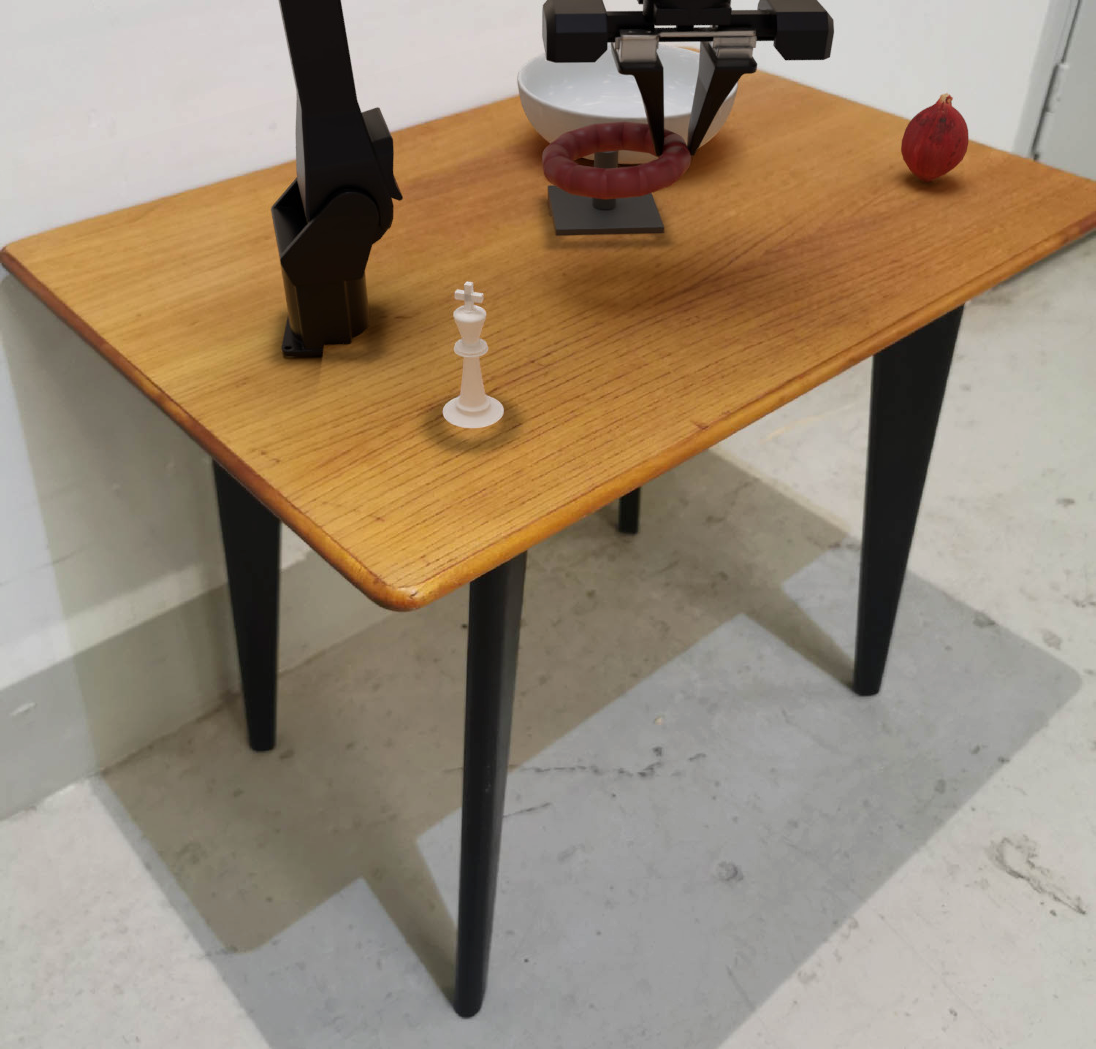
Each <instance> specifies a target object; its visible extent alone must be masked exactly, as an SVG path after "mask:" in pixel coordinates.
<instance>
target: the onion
mask: <svg viewBox="0 0 1096 1049" xmlns="http://www.w3.org/2000/svg"><path fill="white" fill-rule="evenodd" d="M953 99H954V97H953V96H952V95H951V94H949V93H948V92H946V93H943V94H940V96H939V98H938V100H937V101H936V102H935V103H933V104H932V105H930V106H928V107H925V108H924V109H922V110H921V111H919V112H918V113H916V115H914V116H913V118H912V119H910V121H909V122H908V124H907V125H906V128H905V129H904V133H903V135H902V139H901V145H900V152H901V156H902V160H903V161H904V163H905V164H906V166H907V168H908V170H909V171H910V172H911V173H912V174H913V175H914V176H915V177H917V178H918V180H919V181H921V182H923V183H932V182H934V180H936V179H938V178H940V177H943V176H945V175H946V174H948V173H949V172H951V171H952V170H954V169H955V168H957V167H958V165H959V164H960V163H961V162H963V160H964V158H965V156H966V154H967V151H968V148H969V139H970V138H969V128H968V124H967V122H966V120H965V118H964V116H963V115H962V114H961V112H960V111H959V110H958V109H956V108H955V107H954V106H953V103H952V101H953Z"/></svg>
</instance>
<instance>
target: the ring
mask: <svg viewBox="0 0 1096 1049" xmlns="http://www.w3.org/2000/svg"><path fill="white" fill-rule="evenodd" d="M620 150H627V151H635V152H643V153H650V154H652V155H654V156H656V154H655V151H654V147H653V142H652V138H651V134H650V130H649V126H648V124H644V123H635V122H613V123H601V124H592V125H588V126H585V127H582V128H579V129H575V130H572V131H569V132H566V133H564V134H562V135H560V136H559V137H558V138H557V139H556V140H554V141H553V142H552V143H549V144H548V145H547V146H546V147H545V148H544V150H543V152H542V155H541V162H542V168H543V175H544V178H545V179H546V180H547V182H548V183H550V184H551V185H555V186H557V187H558V188H560V189H562V190H564V191H566V192H567V193H569V194H572V195H577V196H584V197H591V198H598V199H617V198H629V197H640V196H644V195H647V194H650V193H652V194H653V193H655V192H658V191H661V190H663V189H666V188H670V187H672V186H673V185H674V184H676V182H677V181H678V180H680V178H681V177H682V176H683V175H684V174H685V173H686V172H687V171H688V170H689V168H690V166H691V163H692V156H691V155H690V152H689V150H688V148H687V145H686V143H685V140H684V139H683V138H682V137H681V136H680V135H678V134H676V133H674V132H672V131H669V130H667V129H665V128H664V146H663V152H662V155H661V156H660V157H658V159H656V160H653V161H650V162H647V163H644V164H637V165H633V166H622V167H621V166H620V167H618V168H609V169H604V168H597V167H594V166H589V165H581V164H579V163H577V162H575V161H576V160H578V159H581V158H582V157H585V156H588V155H591V154H594V153H597V152H608V151H620ZM656 157H657V156H656Z"/></svg>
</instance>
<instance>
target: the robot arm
mask: <svg viewBox="0 0 1096 1049" xmlns="http://www.w3.org/2000/svg"><path fill="white" fill-rule="evenodd" d="M636 1H637V4H638V5H642V10H607V9H606V6H605V3H604V0H545V2H543V4H542V10H541V13H542V14H541V37H542V44H543V50H544V53H545V55H546V60H547V61H551V62H554V63H592V62H596V61H597V60H598V59H599V58H600V57H601V56H602V55H603V54H604V53H605V52H606V51H607V47H608V43H611V52H612V55H613V58H614V61H615V64H616V67H617V70H618V73H620V74H622V75H633V76H634V78H635V80H636V83H637V85H638V88H639V91H640V93H641V97H642V101H643V105H644V109H645V113H646V117H647V121H648V126H649V130H650V134H651V138H652V142H653V147H654V151H655V154H656V156H657V157H660V156H661V155H662V152H663V146H664V68H663V65H662V63H661V61H660V58H659V56H658V54H657V49H658V46H659V44H660V43H699V53H700V56H699V72H698V77H697V83H696V88H695V94H694V99H693V105H692V110H691V116H690V121H689V127H688V138H687V148H688V150H689V152H690V155H691V157H694V156H695V155H696V154H697V152H698V150H699V149H700V148H699V146H700V144H701V142H702V140H703V139H704V137H705V135H706V133H707V131H708V129H709V127H710V125H711V123H712V121H713V119H714V118H715V116H716V114H717V112H718V110H719V108H720V107H721V105H722V104H723V102H724V101H725V99H726V98H727V96H728V95H729V94H730V92H731V91H732V89H733V88H734V86H735V85H736V83H737V82H738V83H739V80H740V79H741V77H742V76H744V75H750V74H751V75H752V74H755V73H756V72H757V70H758V63H757V61H756V59H755V57H754V56H753V54H754V49H757V42H773V43H772V44H773V45H772V46H773V47H774V49H775V50H776V51H777V52H778V54H779V55H780V56H781V58H782V59H784V61H825V60H827V59H829V58H831V54H832V47H833V43H834V42H833V41H834V36H835V22H834V21H835V20H834V18H833V17H832V16H831V14H830V13H829V12H828V11H827V10H826V8H825V7H824V6H823V5H822V4H821V3H820V1H819V0H758V3H757V8H756V9H733V8H732V0H636ZM278 5H279V10H280V15H281V21H282V26H283V31H284V36H285V40H286V46H287V50H288V55H289V60H290V66H291V70H292V76H293V81H294V85H295V92H296V93H295V94H296V102H295V103H296V105H295V166H296V167H295V168H296V170H295V171H296V177H295V179H294V180H293V181H292V182H291V183H290V184H289V186H288V187H287V188H286V189H285V190H284V192H283V193H282V194H281V195H280V196H279V197H278V199H277V200H275V202H274V203H273V204H272V205H271V207H270V213H271V218H272V224H273V230H274V235H275V241H276V246H277V252H278V258H279V264H280V270H281V277H282V283H283V290H284V295H285V302H286V309H287V317H286V323H285V328H284V333H283V338H282V342H281V348H280V349H281V354H282V356H284V357H313V356H314V357H319V356H324V349H325V346H339V345H340V346H341V345H342V346H343V345H350V344H352V342H353V339H354V338H357V337H358V336H360V335H361V334H363V333H364V332H365V331H367V329H368V328H369V326H370V324H371V320H370V319H371V317H370V308H369V299H368V289H367V279H366V269H367V265H368V261H369V258H370V254H371V251H372V249H373V248H372V247H373V245H375V244H376V243H377V242H379V241H380V240H381V239H382V238H383V237H384V235H385V234H386V233H387V232H388V231H389V230H390V229H391V227H392V225H393V221H394V208H395V206H394V202H393V201H394V200H396V201H400V202H401V201H402V200H403V199H404V196H403V194H402V192H401V189H400V186H399V183H398V182H397V179H396V177H395V174H394V155H395V154H394V151H395V149H394V139H393V136H392V134H391V131H390V129H389V126H388V125H387V122H386V120H385V117H384V115H383V113H382V110H381V108H380V107H378V106H377V107H374V108H371V109H369V110H365V111H362V109H361V107H360V104H359V101H358V97H357V96H358V95H357V89H356V84H355V78H354V72H353V66H352V60H351V52H350V46H349V41H348V36H347V35H348V34H347V29H346V23H345V18H344V11H343V5H342V0H278ZM701 26H704V27H701ZM706 26H707V27H706Z"/></svg>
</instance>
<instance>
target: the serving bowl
mask: <svg viewBox="0 0 1096 1049" xmlns="http://www.w3.org/2000/svg"><path fill="white" fill-rule="evenodd" d="M657 54H658V56H659V58H660V61H661V63H662V65H663V68H664V128H665V129H667V130H669V131H672V132H674V133H676V134H678V135H680V136H681V137H682V138H683V139H684V140H685V143H686V145H687V138H688V127H689V121H690V116H691V110H692V105H693V99H694V94H695V88H696V83H697V77H698V72H699V56H700V52H698V51H694V50H691V49H687V48H685V47H684V48H683V47H678V46H672V45H666V44H660V43H659V46H658V49H657ZM516 81H517V82H516V84H517V89H518V95H519V100H520V104H521V107H522V110H523V112H524V115H525V116H526V118H527V120H528V122H529V123H530V124H531V126H532V128H533V129H534V130H535V131H536V132H537V133H538V135H540V136H541V137H542V138H543V139H544V140H545V141H547V143H549V144H551V143H552V142H553V141H554V140H556V139H557V138H558V137H559V136H560V135H562V134H564V133H566V132H569V131H572V130H575V129H579V128H582V127H585V126H588V125H592V124H601V123H613V122H635V123H644V124H648V121H647V117H646V113H645V109H644V105H643V101H642V97H641V93H640V91H639V88H638V85H637V83H636V80H635V78H634V76H633V75H622V74H620V73H618V70H617V67H616V64H615V61H614V58H613V55H612V52H611V43H608V47H607V51H606V52H605V53H604V54H603V55H602V56H601V57H600V58H599V59H598V60H597V61H596V62H592V63H554V62H551V61H547V60H546V55H545V52H542V53H540V54H538V55H536V56H534V57H532V58H531V59H529V60H528V61H526V62H525V63H524V64H523V65H522V66H521V67H520V69H519V71H518V73H517V77H516ZM738 88H739V81H738V82H737V83H736V85H735V86H734V88H733V89H732V91H731V92H730V94H729V95H728V96H727V98H726V99H725V101H724V102H723V104H722V105H721V107H720V108H719V110H718V112H717V114H716V116H715V118H714V119H713V121H712V123H711V125H710V127H709V129H708V131H707V133H706V135H705V137H704V139H703V140H702V142H701V144H700V146H699V148H698V149H700V148H701V147H704V146H705V145H706V144H707V143H709V142H710V141H711V140H712V139H713V138H714V137H716V135H717V134H718V133H719V132H720V131H721V130H722V128H723V127H724V125H725V124H726V123H727V121H728V119H729V116H730V114H731V112H732V110H733V106H734V104H735V100H736V96H737V92H738ZM581 158H583V159H586V160H590V161H594V154H591V155H588V156H585V157H581ZM656 159H658V157H656V156H654V155H652V154H650V153H643V152H635V151H627V150H620V151H619V154H618V165H641V164H644V163H647V162H650V161H653V160H656Z"/></svg>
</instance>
